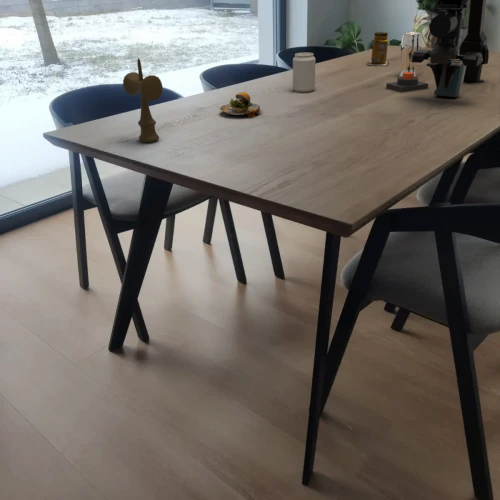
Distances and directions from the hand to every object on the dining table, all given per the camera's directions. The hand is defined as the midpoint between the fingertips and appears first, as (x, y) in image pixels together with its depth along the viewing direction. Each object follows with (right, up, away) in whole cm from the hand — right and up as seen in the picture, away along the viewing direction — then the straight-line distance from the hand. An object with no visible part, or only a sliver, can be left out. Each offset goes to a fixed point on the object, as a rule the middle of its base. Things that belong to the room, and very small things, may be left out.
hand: (442, 87), depth 155 cm
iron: (+5, +6, +6) cm, 10 cm away
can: (-39, +6, +22) cm, 45 cm away
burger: (-60, -8, -2) cm, 61 cm away
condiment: (-4, +29, +61) cm, 68 cm away
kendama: (-83, -21, -22) cm, 89 cm away
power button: (-5, +8, +18) cm, 20 cm away
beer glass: (+1, +15, +36) cm, 39 cm away
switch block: (-5, +6, +19) cm, 21 cm away
